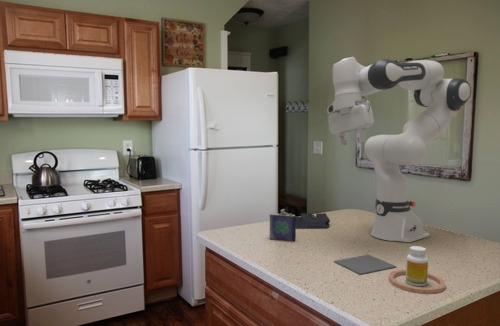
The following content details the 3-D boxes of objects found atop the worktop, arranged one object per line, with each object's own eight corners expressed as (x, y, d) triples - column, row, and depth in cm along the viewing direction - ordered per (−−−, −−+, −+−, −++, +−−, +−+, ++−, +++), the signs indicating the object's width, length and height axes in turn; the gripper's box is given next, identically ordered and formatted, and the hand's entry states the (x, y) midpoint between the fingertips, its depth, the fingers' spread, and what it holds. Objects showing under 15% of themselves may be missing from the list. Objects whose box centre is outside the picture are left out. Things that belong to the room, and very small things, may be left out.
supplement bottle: (429, 287, 107) (430, 251, 106) (407, 285, 108) (409, 250, 107) (424, 279, 113) (426, 245, 112) (404, 278, 114) (405, 244, 113)
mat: (368, 255, 133) (368, 254, 133) (396, 267, 122) (396, 266, 122) (334, 262, 127) (334, 260, 127) (360, 274, 116) (360, 273, 116)
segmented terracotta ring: (414, 270, 120) (414, 266, 120) (457, 287, 107) (457, 283, 107) (377, 277, 114) (377, 274, 114) (418, 297, 101) (419, 293, 101)
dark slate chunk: (275, 221, 181) (276, 210, 180) (324, 220, 182) (324, 210, 181) (280, 230, 166) (280, 219, 165) (333, 229, 167) (333, 218, 166)
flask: (268, 239, 151) (269, 209, 150) (270, 237, 154) (271, 207, 153) (294, 242, 148) (295, 211, 147) (296, 239, 151) (297, 209, 149)
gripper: (376, 97, 131) (380, 139, 130) (338, 109, 150) (342, 146, 149) (360, 97, 128) (365, 140, 128) (324, 110, 147) (327, 147, 147)
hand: (352, 144), depth 139 cm, fingers open, 8 cm apart
